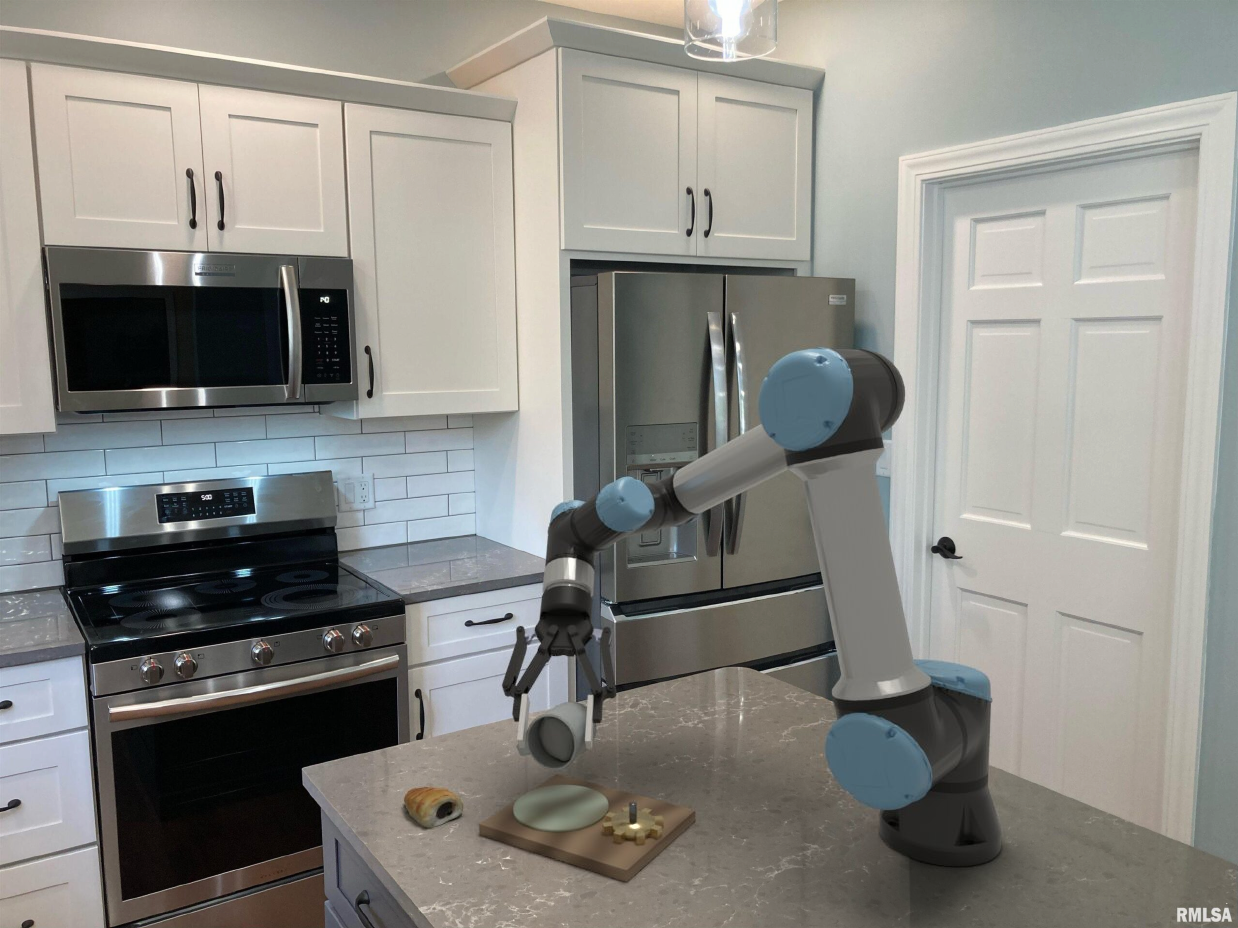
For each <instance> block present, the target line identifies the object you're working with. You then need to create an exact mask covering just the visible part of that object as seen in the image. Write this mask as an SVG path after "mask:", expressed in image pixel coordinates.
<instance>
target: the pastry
mask: <svg viewBox="0 0 1238 928" xmlns="http://www.w3.org/2000/svg"><path fill="white" fill-rule="evenodd" d="M403 802H404V805H405V808H406V809H407V811H408V815H409V816H410V818H412V819H413V820H414V821H416V822H417V823H418V824H419V825H420V826H422V827H424V828H428V829H430V828H437V827H439V826H441V825H443V824H446V823H448V822H449V821H451V820H454V819H456V818H458V817H459V816H460V815H461V814H462V812H463V810H464V804H463V802H462V800H461V797H459V796H457V795H456V794H454V793H453V792H452V791H449V789H448V788H447V787H446V788H445V787H434V786H422V787H414V788H412V789H410V790H408V791H407V793H405V795H404V798H403Z"/></svg>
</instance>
